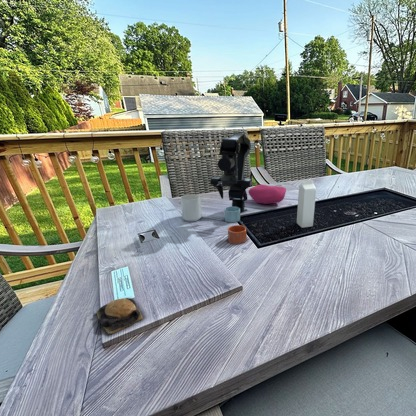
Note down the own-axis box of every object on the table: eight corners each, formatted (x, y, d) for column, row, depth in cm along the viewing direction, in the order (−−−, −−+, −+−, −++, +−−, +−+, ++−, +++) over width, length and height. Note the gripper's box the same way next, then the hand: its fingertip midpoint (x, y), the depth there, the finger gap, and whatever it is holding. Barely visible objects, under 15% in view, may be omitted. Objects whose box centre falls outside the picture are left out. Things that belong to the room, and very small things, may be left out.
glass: (231, 215, 133) (231, 205, 131) (243, 218, 130) (243, 208, 128) (221, 220, 127) (221, 209, 125) (233, 223, 124) (233, 212, 122)
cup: (236, 234, 113) (235, 223, 111) (249, 238, 110) (249, 227, 108) (224, 240, 107) (223, 229, 105) (238, 245, 103) (238, 234, 102)
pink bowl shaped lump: (244, 200, 157) (243, 184, 154) (266, 194, 170) (266, 179, 167) (270, 210, 143) (271, 193, 140) (293, 203, 156) (293, 187, 153)
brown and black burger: (94, 313, 66) (91, 301, 65) (130, 298, 72) (128, 287, 71) (106, 337, 59) (102, 324, 58) (145, 318, 65) (143, 306, 64)
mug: (203, 220, 125) (201, 198, 121) (183, 223, 121) (181, 200, 118) (199, 212, 135) (198, 191, 131) (181, 214, 132) (179, 193, 128)
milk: (313, 226, 125) (317, 181, 118) (301, 228, 123) (305, 182, 115) (307, 221, 130) (310, 178, 123) (296, 223, 128) (299, 179, 120)
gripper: (204, 169, 113) (206, 203, 118) (247, 171, 112) (247, 206, 117) (213, 164, 123) (214, 196, 128) (252, 166, 122) (252, 198, 128)
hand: (231, 199), depth 125 cm, fingers open, 9 cm apart
